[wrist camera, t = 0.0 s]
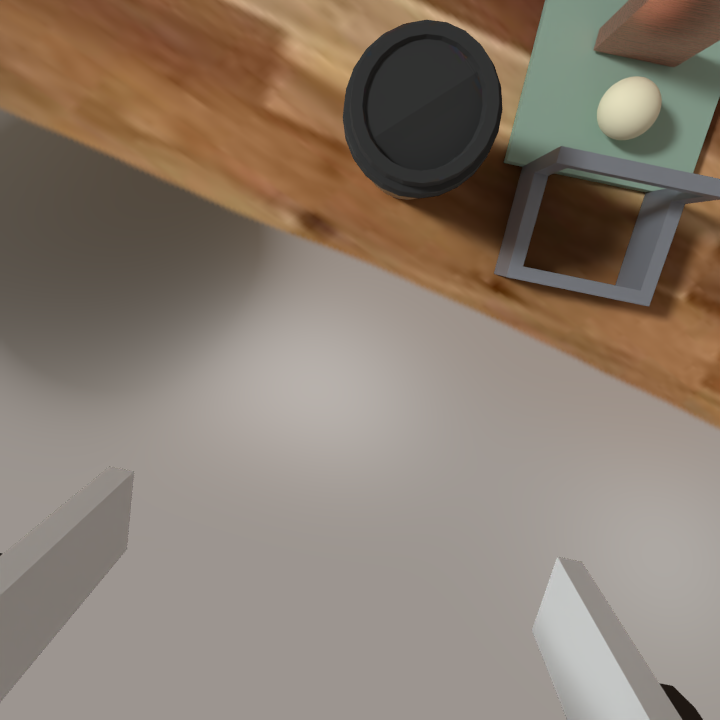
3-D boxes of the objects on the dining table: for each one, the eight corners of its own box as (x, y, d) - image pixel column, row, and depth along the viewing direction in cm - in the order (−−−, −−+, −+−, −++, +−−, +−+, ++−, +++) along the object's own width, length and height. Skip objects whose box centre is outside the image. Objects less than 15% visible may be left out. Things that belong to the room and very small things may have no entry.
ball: (597, 81, 35) (624, 61, 31) (649, 93, 35) (683, 74, 31) (580, 139, 36) (604, 127, 32) (631, 150, 36) (662, 139, 32)
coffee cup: (478, 177, 38) (539, 136, 23) (387, 232, 39) (392, 225, 25) (428, 77, 37) (461, -33, 22) (335, 138, 38) (307, 72, 23)
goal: (522, 166, 38) (560, 145, 30) (658, 194, 38) (733, 181, 30) (493, 273, 40) (523, 281, 32) (622, 300, 40) (684, 314, 32)
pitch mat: (581, -142, 33) (587, -154, 32) (779, -100, 33) (791, -111, 32) (503, 162, 38) (506, 160, 37) (676, 198, 38) (684, 197, 37)
